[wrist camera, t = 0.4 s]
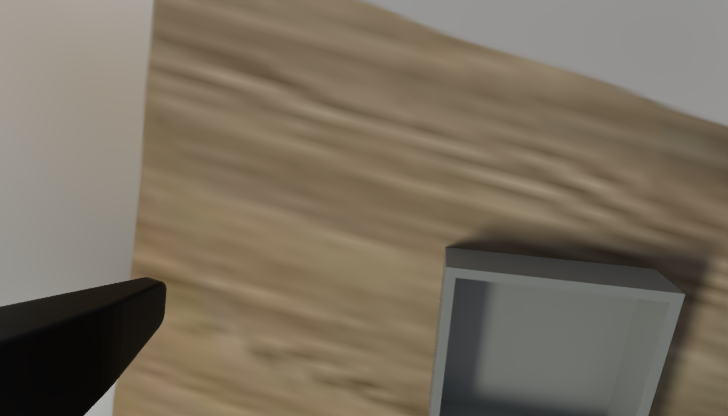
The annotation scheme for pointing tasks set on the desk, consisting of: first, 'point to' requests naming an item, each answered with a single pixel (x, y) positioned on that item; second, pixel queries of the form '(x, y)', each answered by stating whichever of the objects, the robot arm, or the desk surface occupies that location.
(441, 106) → the desk surface
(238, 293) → the desk surface
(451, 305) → the grey square tray
